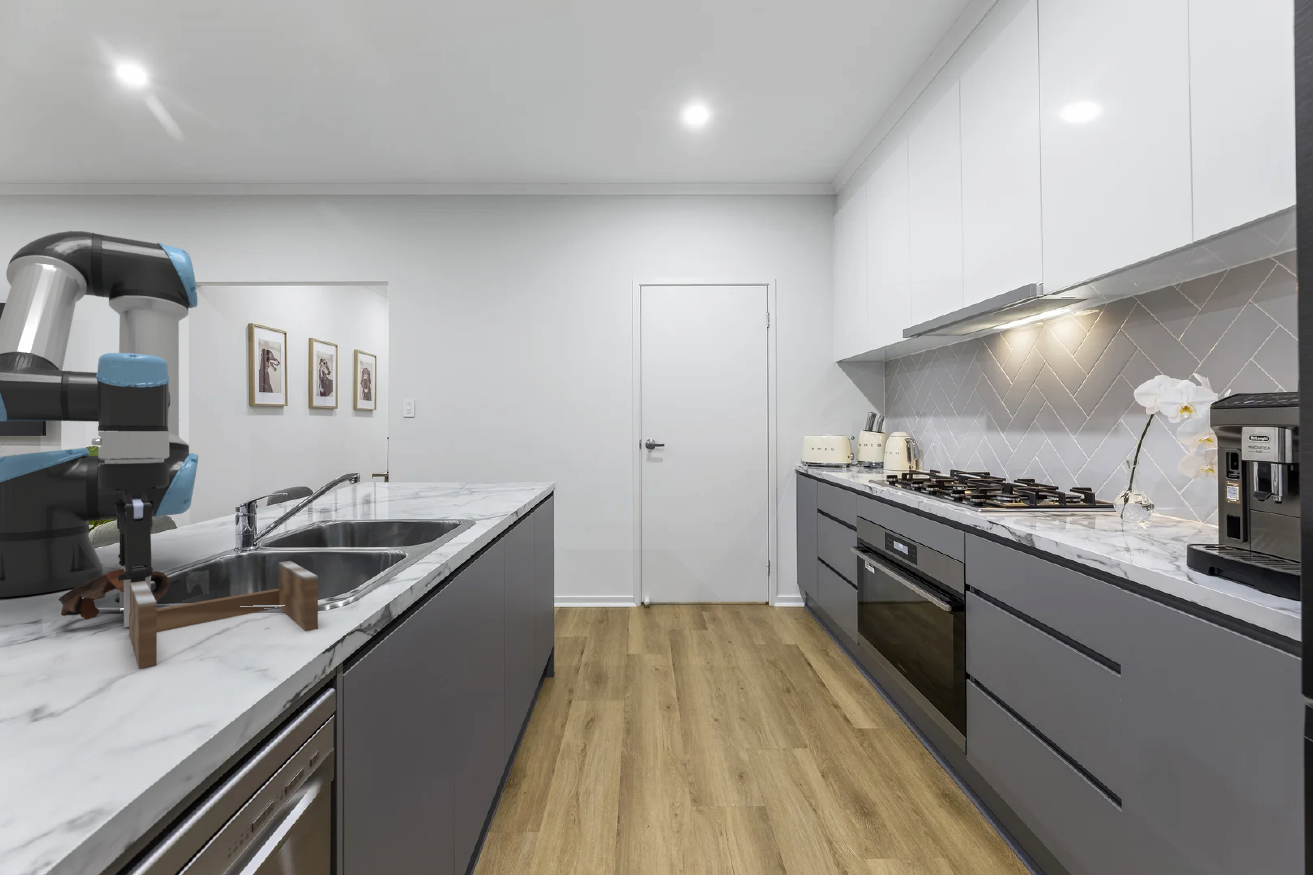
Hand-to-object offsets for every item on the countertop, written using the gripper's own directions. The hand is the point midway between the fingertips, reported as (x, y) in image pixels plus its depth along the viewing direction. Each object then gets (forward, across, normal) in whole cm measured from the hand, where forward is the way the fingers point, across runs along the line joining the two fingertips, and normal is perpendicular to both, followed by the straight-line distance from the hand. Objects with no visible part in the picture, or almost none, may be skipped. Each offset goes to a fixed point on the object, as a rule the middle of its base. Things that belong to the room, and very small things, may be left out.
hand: (134, 616), depth 81 cm
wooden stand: (0, +17, +8) cm, 19 cm away
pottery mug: (+1, 0, 0) cm, 2 cm away
